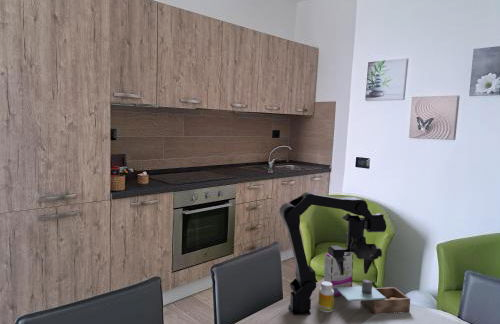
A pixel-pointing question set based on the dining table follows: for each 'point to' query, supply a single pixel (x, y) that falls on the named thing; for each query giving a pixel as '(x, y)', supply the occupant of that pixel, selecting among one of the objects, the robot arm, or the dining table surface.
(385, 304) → the walnut box
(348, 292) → the sliding cover
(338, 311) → the dining table surface
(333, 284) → the candy bar box
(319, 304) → the supplement bottle
